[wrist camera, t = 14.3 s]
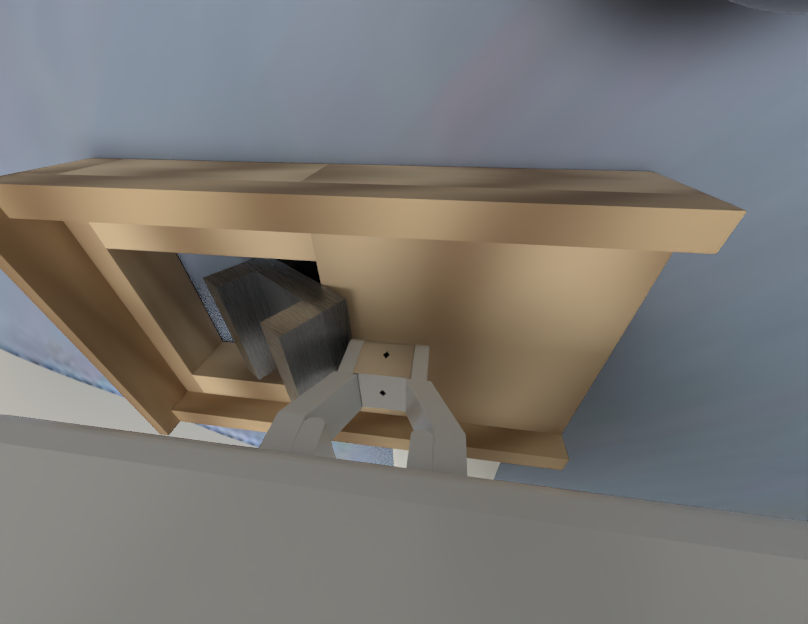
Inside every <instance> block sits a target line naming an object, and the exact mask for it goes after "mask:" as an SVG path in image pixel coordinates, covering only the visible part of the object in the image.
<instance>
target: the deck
mask: <svg viewBox="0 0 808 624" xmlns="http://www.w3.org/2000/svg"><path fill="white" fill-rule="evenodd" d="M746 212H747V211H746V210H743V209H741V208H739V207H736V206H734V205H731V204H729V203H727V202H724V201H722V200H720V199H717V198H715V197H712V196H710V195H708V194H705V193H703V192H700V191H698V190H696V189H693V188H691V187H689V186H686V185H684V184H681V183H679V182H677V181H674V180H672V179H670V178H667V177H665V176H662V175H660V174H658V173H655V172H650V171H609V170H567V169H525V168H484V167H442V166H400V165H359V164H317V163H275V162H234V161H192V160H151V159H109V158H89V159H84V160H79V161H74V162H69V163H64V164H59V165H54V166H48V167H43V168H38V169H33V170H28V171H23V172H18V173H13V174H8V175H2V176H0V268H1V269H2V270H3V272H4V273H5V274H6V275H7V276H8V277H9V278H10V279H11V280H12V281H13V282H14V283H15V284H16V285H17V286H18V287H19V288H20V289H21V290H22V291H23V292H24V293H25V294H26V295H27V296H28V297H29V298H30V300H31V301H32V302H33V303H34V304H35V305H36V306H37V307H38V308H39V309H40V310H41V311H42V312H43V313H44V314H45V315H46V316H47V317H48V318H49V319H50V320H51V321H52V322H53V323H54V324H55V325H56V327H57V328H58V329H59V330H60V331H61V332H62V333H63V334H64V335H65V336H66V337H67V338H68V339H69V340H70V341H71V342H72V343H73V344H74V345H75V346H76V347H77V348H78V349H79V350H80V351H81V352H82V353H83V355H84V356H85V357H86V358H87V359H88V360H89V361H90V362H91V363H92V364H93V365H94V366H95V367H96V368H97V369H98V370H99V371H100V372H101V373H102V374H103V375H104V376H105V377H106V378H107V379H108V380H109V382H110V383H111V384H112V385H113V386H114V387H115V388H116V389H117V390H118V391H119V392H120V393H121V394H122V395H123V396H124V397H125V398H126V399H127V400H128V401H129V402H130V403H131V404H132V405H133V406H134V407H135V409H137V411H138V412H140V414H141V415H142V416H143V417H144V418H145V419H146V420H147V421H148V422H149V423H150V424H151V425H152V426H153V427H154V428H155V429H156V430H157V431H158V432H159V433H160V434H164V435H169V434H170V433H171V432H172V431H173V429H174V428H175V427H176V426H177V424H178V423H179V422H180V421H184V422H191V423H199V424H206V425H214V426H222V427H230V428H237V429H245V430H253V431H261V432H268V430H269V428H270V426H271V424H272V422H273V421H274V419H275V417H276V415H277V413H278V412H279V411H280V410H281V409H283V408H284V407H285V406H287V405H288V404H290V403H291V401H290V398H289V395H288V393H287V390H286V388H285V385H284V383H283V380H282V378H281V375H280V373H279V370H278V368H277V369H275V370H274V371H272V372H271V373H269V374H268V375H266V376H265V377H263V378H262V379H260V380H259V379H258V378H256V377H255V376H254V375H253V374H252V373H251V372H250V371H249V370H248V368H247V366H246V364H245V362H244V360H243V358H242V356H241V354H240V352H239V350H238V348H237V345H236V343H234V342H223V341H222V340H221V338H220V336H219V334H218V332H217V330H216V328H215V326H214V324H213V323H212V321H211V319H210V317H209V315H208V313H207V311H206V309H205V307H204V306H203V304H202V302H201V300H200V298H199V296H198V294H197V292H196V290H195V288H194V287H193V285H192V283H191V281H190V279H189V277H188V275H187V273H186V271H185V270H184V268H183V266H182V264H181V262H180V260H179V258H178V256H177V254H176V253H190V254H206V255H223V256H239V257H255V258H272V259H288V260H305V261H316V262H317V267H318V272H319V277H320V281H321V284H322V285H324V286H325V287H327V288H329V289H331V290H333V291H334V292H336V293H338V294H340V295H342V296H344V297H345V298H346V299H347V306H348V313H349V319H350V326H351V333H352V339H359V340H371V341H380V342H388V343H389V342H390V343H402V344H415V345H429V347H430V348H429V362H428V375H427V381H431V382H432V384H433V385H434V387H435V388H436V390H437V391H438V393H439V394H440V396H441V398H442V399H443V401H444V402H445V404H446V405H447V407H448V408H449V410H450V411H451V413H452V414H453V416H454V417H455V419H456V420H457V422H458V424H459V425H460V427H461V428H462V430H463V431H464V433H465V434H466V454H467V458H471V459H478V460H486V461H494V462H502V463H510V464H517V465H525V466H533V467H541V468H548V469H556V470H562V469H563V468H564V467H565V465H566V464H567V462H568V461H569V457H568V454H567V451H566V448H565V444H564V441H563V438H562V435H561V434H562V433H563V431H564V430H565V428H566V426H567V425H568V423H569V421H570V420H571V418H572V416H573V415H574V413H575V412H576V410H577V408H578V407H579V405H580V403H581V402H582V400H583V398H584V397H585V395H586V394H587V392H588V390H589V389H590V387H591V385H592V384H593V382H594V380H595V379H596V377H597V376H598V374H599V372H600V371H601V369H602V367H603V366H604V364H605V362H606V361H607V359H608V358H609V356H610V354H611V353H612V351H613V349H614V348H615V346H616V345H617V343H618V341H619V340H620V338H621V336H622V335H623V333H624V331H625V330H626V328H627V327H628V325H629V323H630V322H631V320H632V318H633V317H634V315H635V313H636V312H637V310H638V309H639V307H640V305H641V304H642V302H643V300H644V299H645V297H646V295H647V294H648V292H649V291H650V289H651V287H652V286H653V284H654V282H655V281H656V279H657V277H658V276H659V274H660V273H661V271H662V269H663V268H664V266H665V264H666V263H667V261H668V260H669V258H670V256H671V255H672V253H673V252H687V253H707V254H717V252H718V251H719V250H720V248H721V247H722V245H723V244H724V243H725V241H726V240H727V238H728V237H729V236H730V234H731V233H732V231H733V230H734V229H735V227H736V226H737V224H738V223H739V222H740V220H741V219H742V217H743V216H744V215H745V213H746ZM413 431H414V430H413V428H412V426H411V424H410V421H409V419H408V417H407V415H406V412H404V411H397V410H390V409H382V408H370V407H362V409H361V410H360V411H359V412H358V413H357V414H356V415H355V416H354V417H353V418H352V419H351V421H350V422H349V423H348V424H347V425H346V426H345V427H344V428H343V429H342V430H341V431H340V432H339V433H338V434H337V435H336V436H335V438H334V439H333V440H332V441H339V442H346V443H354V444H362V445H370V446H377V447H385V448H393V449H401V450H408V451H409V444H410V437H411V433H412V432H413Z"/></svg>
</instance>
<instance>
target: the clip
mask: <svg viewBox="0 0 808 624" xmlns="http://www.w3.org/2000/svg"><path fill="white" fill-rule="evenodd" d="M204 280H205V282H206V284H207V286H208V288H209V291H210V293H211V295H212V297H213V299H214V301H215V303H216V305H217V307H218V309H219V311H220V313H221V315H222V317H223V319H224V321H225V323H226V325H227V327H228V329H229V331H230V333H231V335H232V337H233V339H234V341H235V343H236V345H237V348H238V350H239V352H240V354H241V356H242V358H243V360H244V362H245V364H246V366H247V368H248V370H249V371H250V372H251V373H252V374H253V375H254V376H255V377H256V378H258V379H259V380H260V379H262V378H263V377H265V376H266V375H268V374H269V373H271V372H272V371H274V370H275V369H277V368H278V370H279V373H280V375H281V378H282V380H283V383H284V385H285V388H286V390H287V393H288V395H289V398H290V401H291V402H292V401H294V400H295V399H296V398H298V397H299V396H300V395H302V394H303V393H305V392H306V391H307V390H309V389H310V388H311V387H313V386H314V385H315V384H317V383H318V382H320V381H321V380H322V379H324V378H325V377H326V376H328V375H329V374H330V373H332V372H333V371H335V372H337V371H338V369H339V366H340V364H341V361H342V359H343V356H344V354H345V351H346V349H347V346H348V344H349V342H350V340H351V339H352V333H351V326H350V319H349V313H348V306H347V299H346V298H345V297H344V296H342V295H340V294H338V293H336V292H334V291H333V290H331V289H329V288H327V287H325V286H324V285H322V284H320V283H318V282H316V281H315V280H313V279H311V278H309V277H307V276H306V275H304V274H302V273H300V272H298V271H296V270H295V269H293V268H291V267H289V266H287V265H286V264H284V263H282V262H280V261H278V260H277V259H272V258H255V259H252V260H249V261H247V262H244V263H241V264H239V265H236V266H233V267H231V268H228V269H225V270H223V271H220V272H218V273H215V274H212V275H210V276H207V277H204Z"/></svg>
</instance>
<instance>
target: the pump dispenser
mask: <svg viewBox="0 0 808 624" xmlns="http://www.w3.org/2000/svg"><path fill="white" fill-rule="evenodd" d="M727 1H730V2H733V3H736V4H739V5H742V6H746V7H749V8H753V9H758V10H763V11H768V12H775V13H784V14H798V15H808V0H727Z"/></svg>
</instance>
